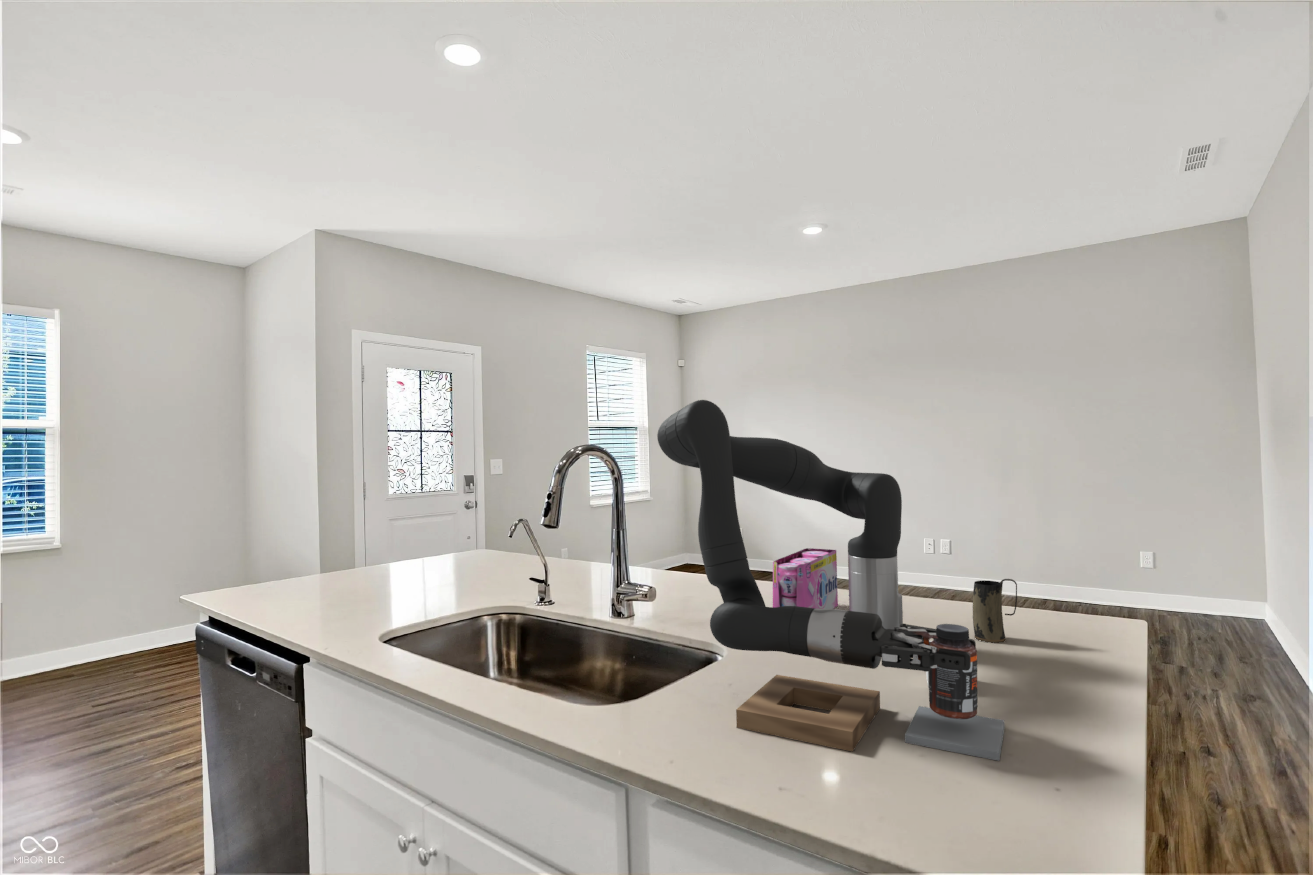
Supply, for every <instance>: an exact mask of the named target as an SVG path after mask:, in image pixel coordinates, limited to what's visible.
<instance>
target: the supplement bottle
mask: <svg viewBox="0 0 1313 875" xmlns="http://www.w3.org/2000/svg"><path fill="white" fill-rule="evenodd" d="M935 629H936V635H937V637H938V638H937V639H936V640H931V641H932V642H931V643H930V645H929V646H934V647H936V648H938V651H939V648H943V649H950V650H957V651H964V652H968V653H969V654H970V656H971V667H970V669H969V670H967V671H966V670H959V669H953V668H946V667H939V665H938V668H931V667H930V671H929V688H928V703H929V708H931V710H933V711H934V712H935V713H937V714H939V715H941V716H944V717H948V718H953V719H970V718H972V717H974V716H975V715H976V716H977V714H978V650H977V647H976V648H975V647H974V646H973V645H972V644H971V643H970V641H969V640H968V639H970V633H969V632H970V631H969V630H970V629H969V628H968V627H966V626H963V625H961V624H954V623H941V624H937V625H936V628H935Z"/></svg>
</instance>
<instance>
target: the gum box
mask: <svg viewBox="0 0 1313 875" xmlns="http://www.w3.org/2000/svg"><path fill="white" fill-rule="evenodd" d="M837 558H838V556H837V549H828V548H814V547H813V548H811V547H810V548H809V547H807V548H803V549H800V550H798V551H796V552H794V553H790V554H788V555H786V556H784V557H780V558H778V559H776V560H773V561H772V607H781V606H799V607H807V608H815V609H836V607H838V606H839V601H838V600H839V599H838V598H839V596H838V567H837V566H838V565H837V564H838V563H837V561H838V559H837Z"/></svg>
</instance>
